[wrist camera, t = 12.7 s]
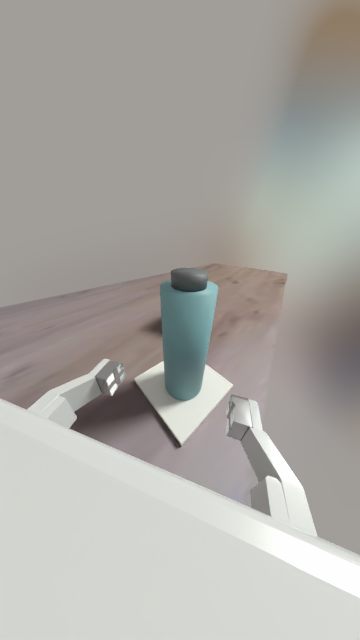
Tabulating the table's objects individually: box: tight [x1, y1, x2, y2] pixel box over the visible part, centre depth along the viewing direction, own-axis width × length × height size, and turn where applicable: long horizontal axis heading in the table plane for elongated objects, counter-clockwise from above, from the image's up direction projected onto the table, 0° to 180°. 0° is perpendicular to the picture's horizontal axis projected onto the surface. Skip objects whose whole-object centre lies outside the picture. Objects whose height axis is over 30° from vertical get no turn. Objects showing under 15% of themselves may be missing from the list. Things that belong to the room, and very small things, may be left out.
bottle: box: [160, 268, 218, 401], centre depth 16 cm, size 5×5×15 cm
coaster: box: [134, 361, 233, 447], centre depth 21 cm, size 10×10×1 cm
